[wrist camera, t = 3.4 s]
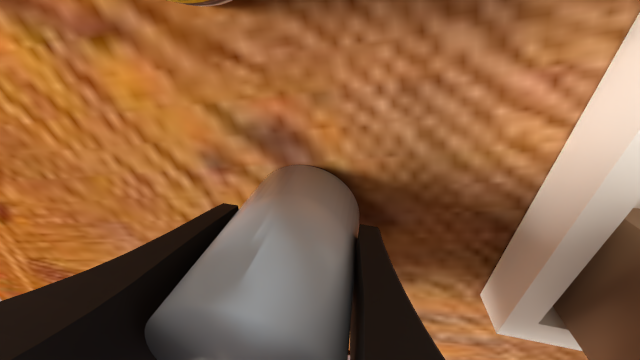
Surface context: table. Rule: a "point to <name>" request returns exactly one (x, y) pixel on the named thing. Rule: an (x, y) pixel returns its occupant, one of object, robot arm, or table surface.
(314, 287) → the cylinder
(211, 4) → the supplement bottle
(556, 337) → the tray
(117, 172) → the table surface
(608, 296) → the walnut block
